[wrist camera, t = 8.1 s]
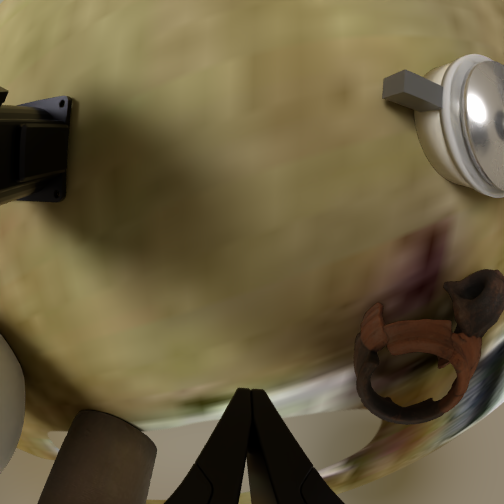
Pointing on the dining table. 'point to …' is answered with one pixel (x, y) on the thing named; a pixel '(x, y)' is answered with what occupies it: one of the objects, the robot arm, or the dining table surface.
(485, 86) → the plunger
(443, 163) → the press
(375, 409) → the pottery mug
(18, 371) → the pitcher
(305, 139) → the dining table surface
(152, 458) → the pillar candle
